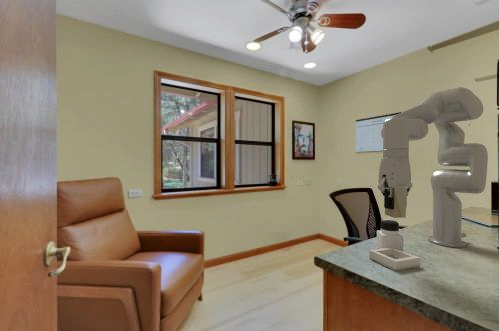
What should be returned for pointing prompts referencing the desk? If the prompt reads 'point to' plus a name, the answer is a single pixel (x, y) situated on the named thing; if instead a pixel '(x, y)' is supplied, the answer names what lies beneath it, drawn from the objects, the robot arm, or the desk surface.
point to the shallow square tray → (394, 258)
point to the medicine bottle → (389, 235)
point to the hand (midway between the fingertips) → (395, 207)
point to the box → (398, 202)
